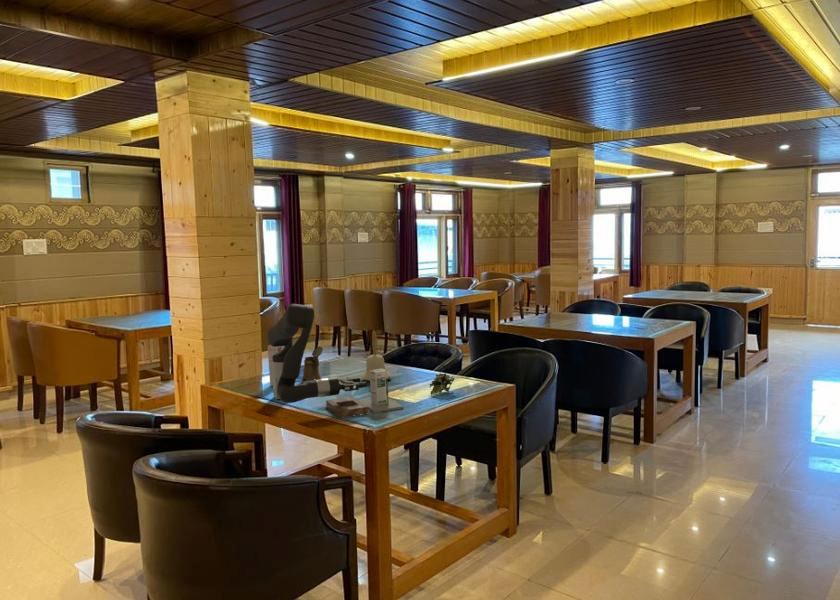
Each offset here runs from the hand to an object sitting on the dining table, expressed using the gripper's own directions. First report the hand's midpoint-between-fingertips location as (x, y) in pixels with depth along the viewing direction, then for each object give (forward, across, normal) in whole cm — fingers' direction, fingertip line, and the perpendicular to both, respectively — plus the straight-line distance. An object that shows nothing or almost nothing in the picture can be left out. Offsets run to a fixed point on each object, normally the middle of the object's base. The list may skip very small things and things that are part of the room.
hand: (363, 382), depth 270 cm
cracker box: (-22, +67, +11) cm, 71 cm away
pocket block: (-8, 0, +11) cm, 14 cm away
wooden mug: (-4, +68, +11) cm, 69 cm away
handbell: (+23, +48, +11) cm, 54 cm away
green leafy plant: (+39, +4, +11) cm, 41 cm away
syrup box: (+7, 0, +10) cm, 12 cm away
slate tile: (+7, 0, +11) cm, 13 cm away
